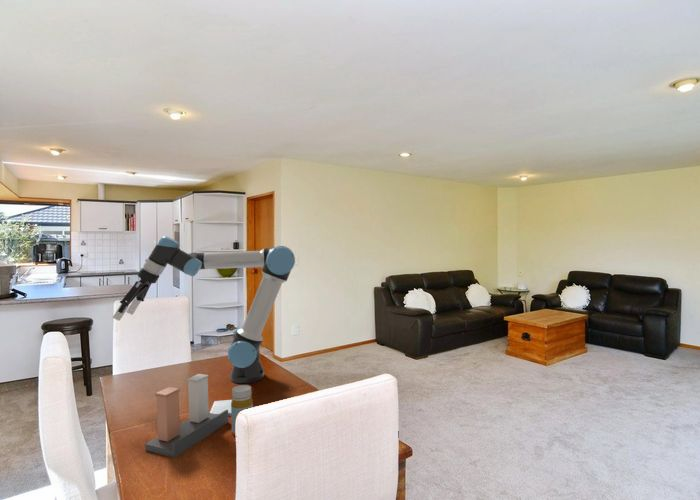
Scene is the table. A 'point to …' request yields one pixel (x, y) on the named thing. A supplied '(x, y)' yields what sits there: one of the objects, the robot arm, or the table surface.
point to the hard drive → (221, 407)
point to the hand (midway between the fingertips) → (122, 316)
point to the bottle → (240, 401)
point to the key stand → (188, 435)
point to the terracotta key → (168, 413)
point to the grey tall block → (198, 398)
